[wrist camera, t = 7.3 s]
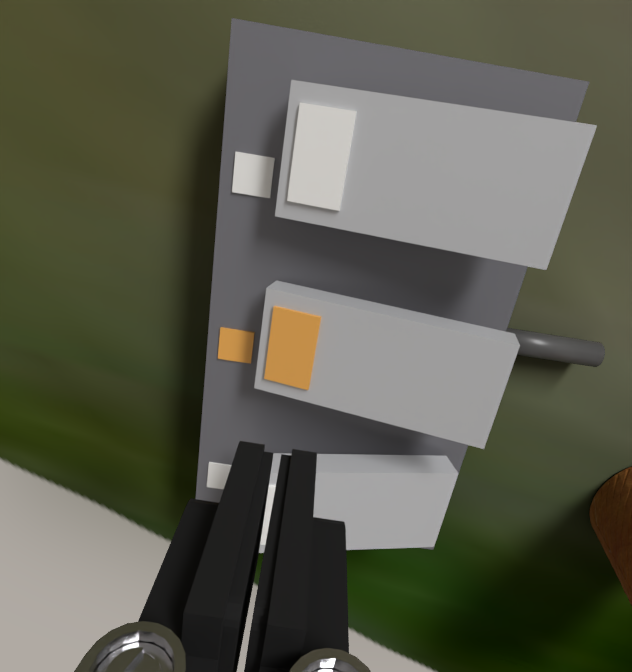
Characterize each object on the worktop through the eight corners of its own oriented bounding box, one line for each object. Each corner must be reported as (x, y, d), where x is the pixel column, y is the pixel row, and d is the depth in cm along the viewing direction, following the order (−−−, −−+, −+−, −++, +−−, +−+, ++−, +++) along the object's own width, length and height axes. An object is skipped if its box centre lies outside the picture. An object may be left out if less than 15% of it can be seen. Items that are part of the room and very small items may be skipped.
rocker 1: (584, 128, 14) (598, 125, 13) (538, 262, 16) (547, 270, 15) (301, 85, 16) (290, 79, 15) (284, 212, 17) (273, 216, 16)
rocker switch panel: (679, 118, 20) (762, 112, 16) (519, 509, 28) (550, 567, 24) (250, 42, 19) (231, 17, 15) (212, 465, 27) (193, 517, 23)
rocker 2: (514, 333, 17) (520, 346, 16) (481, 432, 18) (484, 451, 17) (276, 280, 18) (265, 288, 17) (264, 375, 20) (252, 389, 19)
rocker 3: (446, 455, 21) (460, 475, 20) (423, 526, 23) (435, 549, 22) (244, 452, 19) (246, 474, 18) (235, 531, 21) (236, 556, 19)
